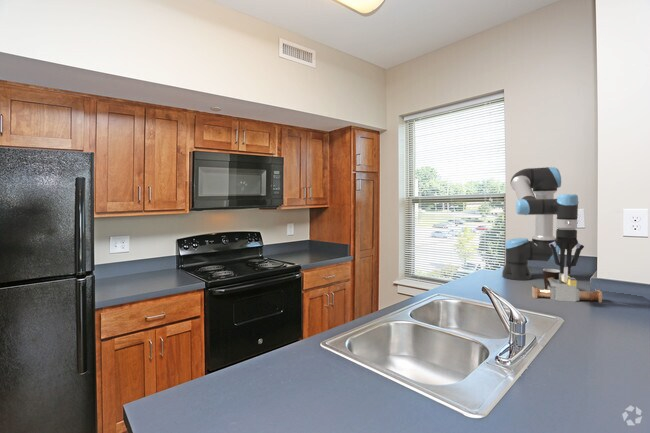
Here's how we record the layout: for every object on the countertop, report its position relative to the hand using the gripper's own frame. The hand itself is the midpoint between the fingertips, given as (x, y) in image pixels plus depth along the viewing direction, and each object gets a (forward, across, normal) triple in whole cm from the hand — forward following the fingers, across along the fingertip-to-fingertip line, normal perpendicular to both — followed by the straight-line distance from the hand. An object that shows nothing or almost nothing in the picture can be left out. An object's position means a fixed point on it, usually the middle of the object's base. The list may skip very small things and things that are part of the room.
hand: (564, 280), depth 149 cm
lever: (+2, +2, +3) cm, 4 cm away
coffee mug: (+10, +1, +23) cm, 25 cm away
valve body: (+10, +1, +8) cm, 13 cm away
